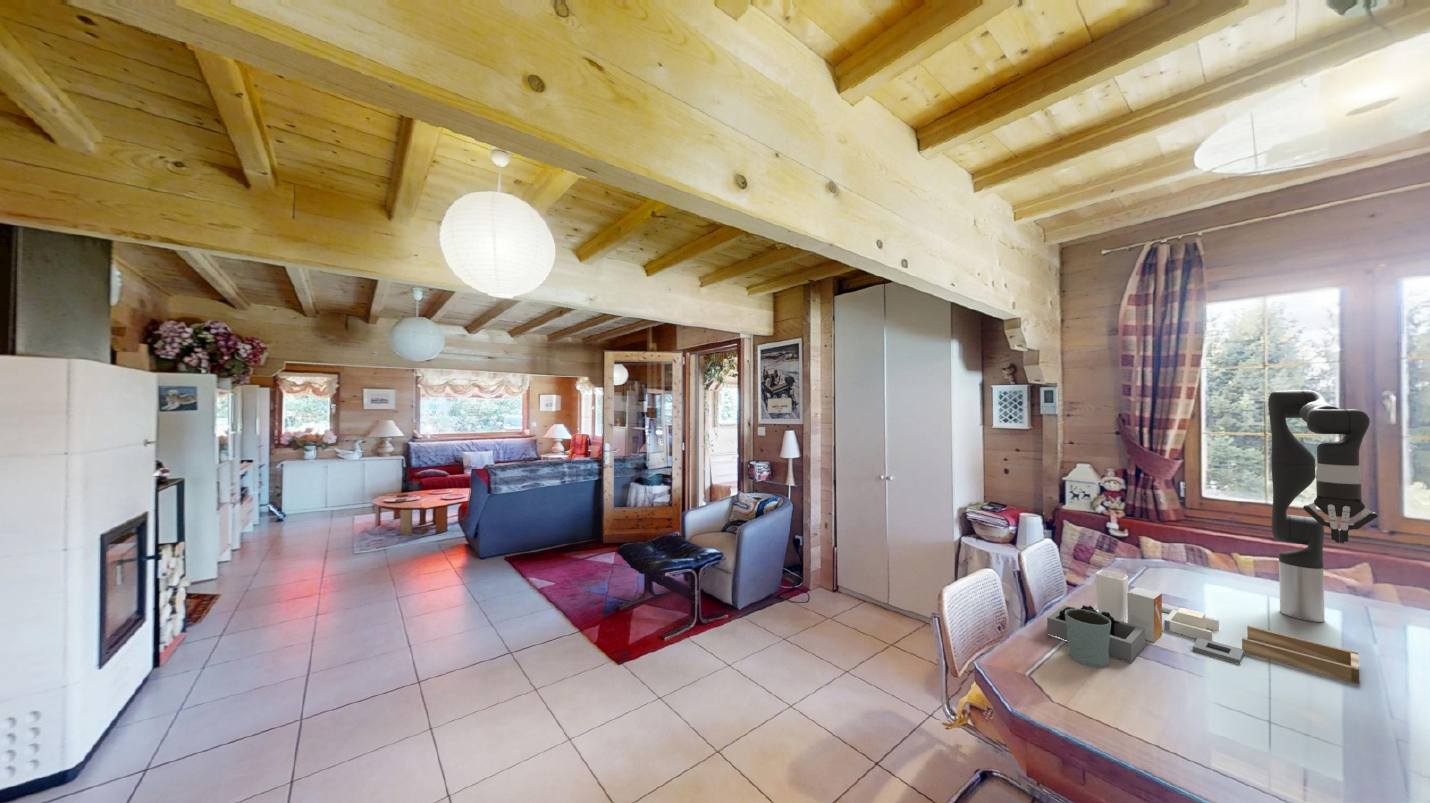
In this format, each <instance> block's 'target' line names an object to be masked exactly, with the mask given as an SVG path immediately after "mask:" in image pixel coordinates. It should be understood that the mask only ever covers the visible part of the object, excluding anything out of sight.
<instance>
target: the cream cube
mask: <svg viewBox="0 0 1430 803" xmlns="http://www.w3.org/2000/svg"><path fill="white" fill-rule="evenodd" d="M1177 610H1178V611H1177V622H1179V623H1183V624H1186V625H1190V626H1194V627H1198V628H1201V629H1205V630H1206V627H1205V617H1206V613H1205V612H1202V611H1198V610H1197V611H1196V610H1192V609H1188V608H1184V607H1179V609H1177Z"/></svg>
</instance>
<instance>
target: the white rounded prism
mask: <svg viewBox="0 0 1430 803" xmlns="http://www.w3.org/2000/svg"><path fill="white" fill-rule="evenodd" d="M1128 592H1129V576H1128V575H1127V574H1125V573H1121V572H1116V571H1112V570H1107V569H1099V570H1098V571H1097V572H1095V594H1096V604H1097V610H1098V611H1097V612H1098V613H1102V612H1109V614H1110V616H1111V617H1113V618H1114V620H1118V621H1121V622H1125V621H1126V618H1127V614H1128V600H1127V593H1128Z"/></svg>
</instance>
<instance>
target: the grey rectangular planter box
mask: <svg viewBox="0 0 1430 803" xmlns="http://www.w3.org/2000/svg"><path fill="white" fill-rule="evenodd" d="M1066 607H1069V606H1067V605H1062V606H1061V607H1060V608H1058V609H1057V610H1056V611H1054V612H1053V613H1051V614H1050V615H1049V616H1047V618H1046V621H1047V622H1046V623H1047V624H1046V625H1047V627H1046V628H1047V635H1048V634H1050V635H1053V636H1057V637H1060V638H1062V639H1064V640H1067V627H1066V626H1067V624H1066V621H1063V620H1060V619H1059V613H1060V611H1061V610H1063V609H1065V608H1066ZM1074 608H1075V607H1074ZM1075 609H1077V608H1075ZM1115 621H1118V620H1115ZM1118 622H1120V624H1118V623H1115V624H1114V634H1115V636H1112V635H1110V639H1109V648H1108V653H1109V657H1110V658H1113V657H1114V658H1113V659H1116V658H1117V660H1120V661H1122V660H1123V662H1125V661H1126V662H1125V663H1128V664H1133V663H1134V661H1135V660H1136V659H1137V658H1136V657H1138V656H1139V655H1140V654H1141V653H1142V652H1143V650H1144V649H1145V648H1146V640H1145V628H1142V627H1139V626H1135V625H1132V624H1128V622H1125V621H1123V622H1121V621H1118ZM1067 641H1068V640H1067ZM1143 648H1144V649H1143ZM1132 662H1133V663H1132Z"/></svg>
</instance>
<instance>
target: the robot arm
mask: <svg viewBox="0 0 1430 803" xmlns="http://www.w3.org/2000/svg"><path fill="white" fill-rule="evenodd" d="M1267 404H1268V415H1269V423H1270V424H1269V425H1270V432H1271V433H1270V434H1271V457H1270V458H1271V459H1270V463H1271V464H1270V465H1271V479H1272V480H1271V481H1272V492H1273V493H1272V510H1271V511H1272V513H1271V534H1272V538H1274V539H1275V540H1277V541H1279V542H1285V543H1291V544H1298V545H1306V546H1307V547H1305V548H1303V549H1298V550H1290V551H1289V550H1287V551H1281V552H1279V554H1278V570H1279V571H1278V573H1279V577H1278V580H1279V612H1280V613H1282V614H1284V615H1286V616H1288V617H1292V618H1295V619H1299V620H1302V621H1303V620H1304V621H1309V622H1314V623H1315V622H1317V623H1321V622H1325V576H1324V572H1325V571H1324V570H1325V569H1324V554H1323V553H1324V538H1325V534H1324V533H1325V527H1328V528H1329V529H1330V539H1331V540H1332V541H1335V543H1336V544H1343V545H1345V543H1347V542H1349V531H1350V530H1359V529H1360V528H1362V527H1364V526H1366V525H1367V524H1368V523H1371V521H1374V519H1376V518H1378V513H1377V512H1375V511H1372V510H1369V509H1368V508H1366V506H1365V504H1364V503H1363V499H1362V481H1363V480H1362V473H1361V468H1360V450H1361V449H1360V448H1361V445H1362V442H1363V439H1364V437H1365V435H1366V433H1367V431H1368V429H1369V427H1370V422H1371V420H1370V417H1369V415H1368V414H1367V413H1366V412H1365V411H1363V410H1361V409H1353V408H1352V409H1351V408H1350V409H1349V408H1348V409H1341V408H1339V407H1337V406H1336V405H1334V404H1333V405H1332V404H1330V403H1329V402H1328V401H1327V400H1326V399H1325V397H1324V396H1323V395H1322V394H1321V393H1319V392H1318V391H1315V390H1305V389H1304V390H1297V389H1296V390H1277V391H1276V390H1275V391H1271V393H1270V394H1269V396H1268V403H1267ZM1287 419H1302V420H1303V421H1304V422H1305V423H1306V427H1307V428H1308V430H1309V431H1310V432H1312V433H1314V434H1319V435H1344V437H1342V439H1341V440H1339V441H1338V440H1337V441H1332V442H1330V441H1329V442H1323V443H1320V444H1318V445H1317V446H1316V454H1317V455H1316V457H1317V458H1316V459H1315V456H1314V455H1313V453H1312V452H1311V451H1310V450H1309V449H1308V448H1307V447H1306V446H1305V445H1304V444H1303V443H1302V442H1301V441H1300V440H1298V439H1297V437H1295V435H1294V434H1293V432H1291V430H1290V428H1289V426H1288V424H1287ZM1316 460H1317V462H1316ZM1316 463H1317V464H1316ZM1314 481H1316V482H1315V483H1316V488H1315V491H1316V498H1315V499H1314V500H1313V503H1310V504H1308V505H1307V504H1305V505H1304V506H1303V507H1302V508H1303V511H1305V512H1306V513H1307V514H1309V515H1310V516H1304V515H1295V514H1287V510H1288V509H1289V507H1290V506H1291V504H1292V503H1293V502H1294V501H1295V499H1296V498H1297V497H1298V496H1299V495H1300V494H1301V493H1302V492H1304V491H1305V490H1306V489H1307V488H1308V487H1309V486H1310V485H1311V484H1312V483H1313V482H1314ZM1318 509H1319V510H1320V511H1321V512H1322V513H1324V514H1325V515H1327V516H1328V517H1329V518H1328V519H1329V521H1328V520H1326V519H1325V518H1324V517H1322V516H1321V515H1320V514H1319V513H1318V512H1317V511H1318ZM1361 512H1362V513H1361ZM1360 513H1361V516H1362V517H1361V518H1360V519H1358V520H1356V521H1355V522H1354V523H1351V524H1350V518H1354V517H1355V516H1357V515H1358V514H1360ZM1338 518H1341V520H1340V528H1339V525H1338Z"/></svg>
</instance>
